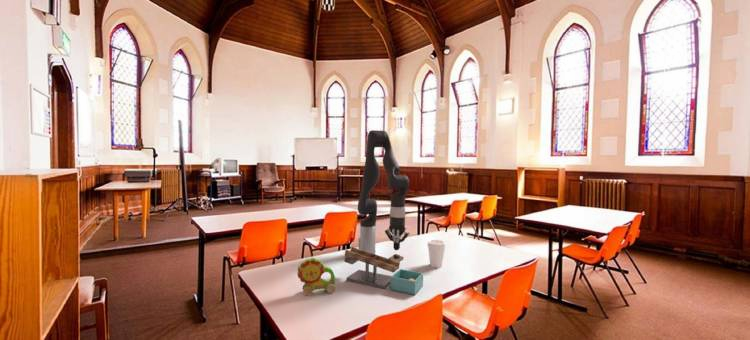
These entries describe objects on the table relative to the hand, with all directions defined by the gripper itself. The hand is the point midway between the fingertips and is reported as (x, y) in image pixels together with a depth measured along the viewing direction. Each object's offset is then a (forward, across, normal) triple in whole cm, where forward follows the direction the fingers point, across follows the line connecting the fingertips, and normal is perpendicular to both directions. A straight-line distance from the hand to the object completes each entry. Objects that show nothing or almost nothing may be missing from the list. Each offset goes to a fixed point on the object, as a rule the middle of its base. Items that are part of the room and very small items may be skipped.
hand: (396, 249), depth 161 cm
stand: (+13, -8, -12) cm, 19 cm away
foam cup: (+13, +14, +23) cm, 30 cm away
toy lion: (+13, -23, -35) cm, 44 cm away
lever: (+7, -8, -6) cm, 12 cm away
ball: (+10, +12, -12) cm, 20 cm away
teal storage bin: (+13, +10, -12) cm, 20 cm away
